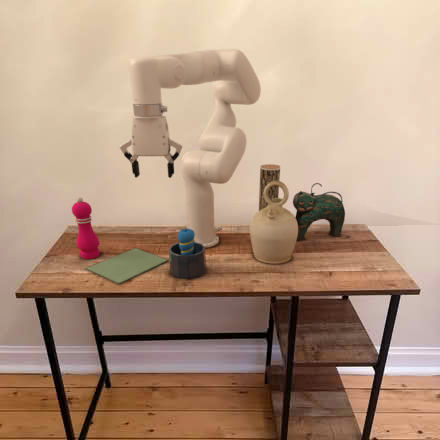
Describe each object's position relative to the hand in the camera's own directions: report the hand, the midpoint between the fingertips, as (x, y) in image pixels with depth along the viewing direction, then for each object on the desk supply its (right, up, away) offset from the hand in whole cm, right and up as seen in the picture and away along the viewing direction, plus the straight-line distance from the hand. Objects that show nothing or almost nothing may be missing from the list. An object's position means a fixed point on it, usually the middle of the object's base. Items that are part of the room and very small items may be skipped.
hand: (153, 176), depth 115 cm
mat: (-11, -24, +14) cm, 30 cm away
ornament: (+9, -27, +11) cm, 30 cm away
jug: (+36, -21, +19) cm, 46 cm away
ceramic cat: (+54, -13, +34) cm, 65 cm away
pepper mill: (-25, -21, +21) cm, 39 cm away
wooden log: (+36, -12, +36) cm, 52 cm away
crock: (+9, -26, +10) cm, 30 cm away
